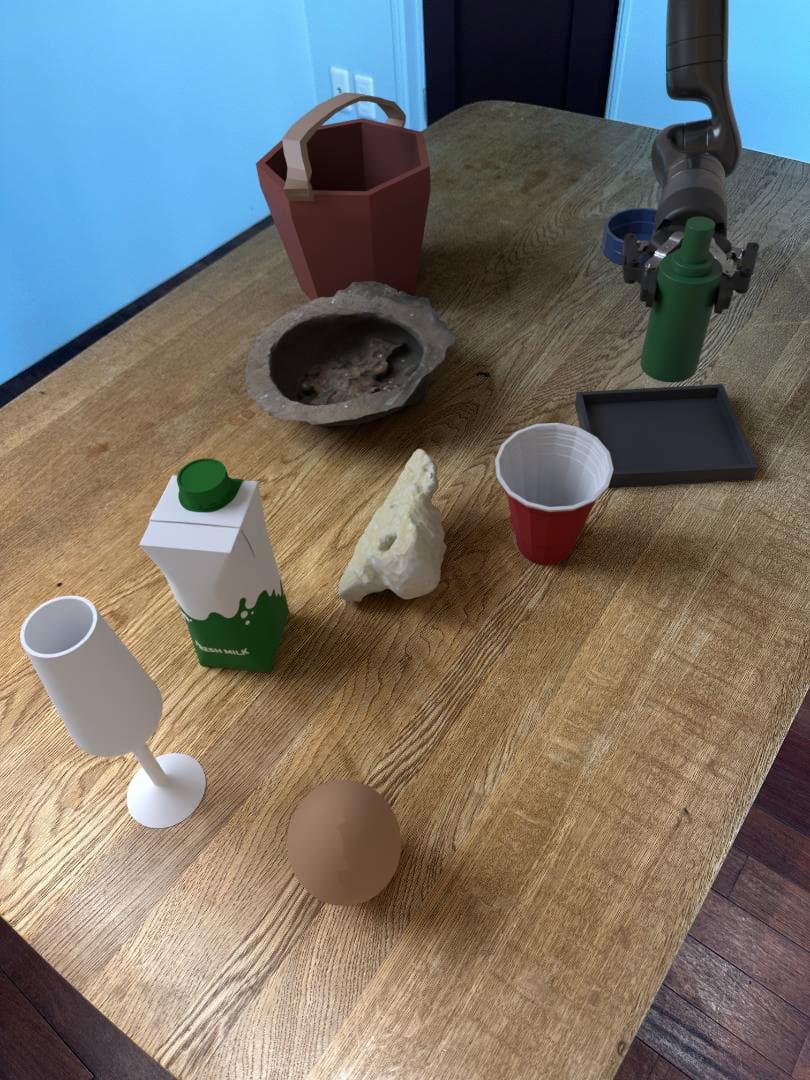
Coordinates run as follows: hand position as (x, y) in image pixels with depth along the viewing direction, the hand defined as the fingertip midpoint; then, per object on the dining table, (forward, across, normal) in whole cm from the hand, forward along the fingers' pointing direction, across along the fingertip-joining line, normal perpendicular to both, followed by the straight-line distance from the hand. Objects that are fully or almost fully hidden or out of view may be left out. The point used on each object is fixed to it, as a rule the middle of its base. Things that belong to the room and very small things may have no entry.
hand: (685, 302), depth 80 cm
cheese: (+23, -24, +18) cm, 38 cm away
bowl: (-40, -4, +18) cm, 44 cm away
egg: (+55, -20, +17) cm, 61 cm away
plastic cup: (+19, -10, +18) cm, 28 cm away
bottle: (-2, 0, +10) cm, 10 cm away
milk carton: (+37, -36, +18) cm, 54 cm away
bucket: (-25, -44, +18) cm, 54 cm away
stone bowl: (0, -37, +18) cm, 41 cm away
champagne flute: (+52, -37, +17) cm, 67 cm away
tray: (+1, +1, +18) cm, 18 cm away
